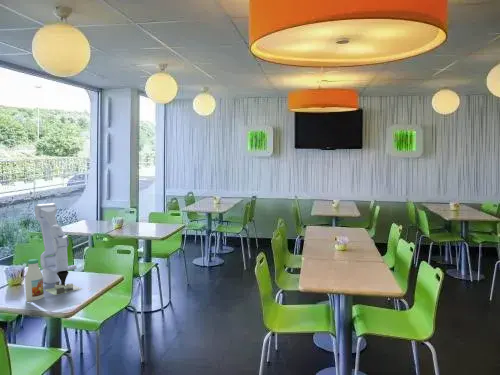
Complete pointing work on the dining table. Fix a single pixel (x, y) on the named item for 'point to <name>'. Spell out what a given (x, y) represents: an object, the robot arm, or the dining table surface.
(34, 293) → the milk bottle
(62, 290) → the latch board
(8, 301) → the dining table surface
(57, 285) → the swing bar
